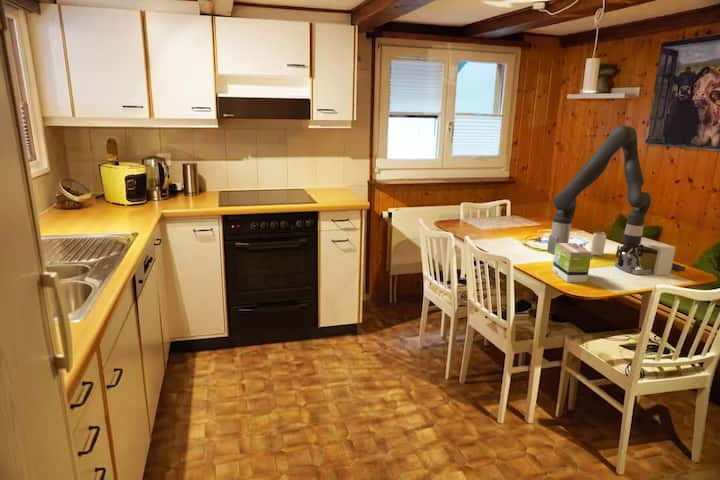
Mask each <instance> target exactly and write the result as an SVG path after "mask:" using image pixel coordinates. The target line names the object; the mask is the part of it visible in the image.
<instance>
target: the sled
mask: <svg viewBox="0 0 720 480" xmlns="http://www.w3.org/2000/svg"><path fill="white" fill-rule="evenodd" d="M622 257H623V255H622ZM636 262H637V264H636ZM638 265H640V264H639V260H638V261H637V258H635V257H632V256H629V255H628V256H626V257H625V258H624V263H623V266H622V267H621V266H619V265H618V261H615V262H614V267H617V269H620V270H622V271H623V272H628V273H630V274H631V273H632V274H634V275H649V274H653V273H654V268H650V269H641V268H640V269H636V266H638ZM672 266H673V265H672ZM672 271H673V270H672V267H671V271H670V272H672Z"/></svg>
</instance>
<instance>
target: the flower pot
mask: <svg viewBox="0 0 720 480" xmlns="http://www.w3.org/2000/svg"><path fill="white" fill-rule="evenodd" d="M657 254H658V250H655V249H652V248H643V255H642V257H641V256H640V258H639V264H638V265H639V267H640V269H650V268H655V263H656V259H657Z"/></svg>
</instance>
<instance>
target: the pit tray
mask: <svg viewBox="0 0 720 480" xmlns="http://www.w3.org/2000/svg"><path fill="white" fill-rule="evenodd" d="M672 265H673V266H672V271H675V272H684V271H685V269H686V267H685V266H683V265H680V264H678V263H674V262H672Z"/></svg>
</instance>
